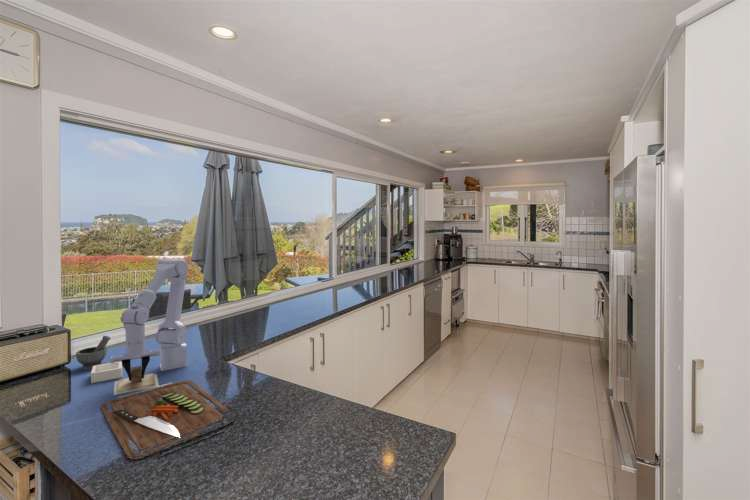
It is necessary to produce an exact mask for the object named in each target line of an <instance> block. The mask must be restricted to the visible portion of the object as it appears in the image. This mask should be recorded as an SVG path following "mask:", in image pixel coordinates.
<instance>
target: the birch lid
mask: <svg viewBox="0 0 750 500" xmlns="http://www.w3.org/2000/svg"><path fill="white" fill-rule="evenodd" d="M141 371H142V365H137V366H132V367H131V381H129V377H126V378H119V379H117V380H118V388H117V393H121V392H126V391H130V390H135V389H140V388H145V387H150V386H155V378H154V374H155V373H153V372H152V373H147V374H144V378H143V379H142V375H141Z"/></svg>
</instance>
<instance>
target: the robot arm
mask: <svg viewBox="0 0 750 500" xmlns="http://www.w3.org/2000/svg"><path fill="white" fill-rule="evenodd" d="M154 270H155V273H154V274H153V276H152V278H151V280H150V282H149V284H148V286H147V287H146V289H143V290H141V291H140V292H139V293H138V295H137V296H136V298H135V300H134V301H133V302H132V304H131V305H130V307H128V308H126V309H125V310H124V311H123V312H122V313H121V316H120V321H121V323H122V326H123V329H124V331H125V353H123V354H118V355H113V356H110V363H111V364H112V363H115V362H120V361H122V368H124V370H125V372H126V374H127V378H129V381H131V360H137V359H141V375H142V379H143V378H144V375H145V372H146V369H147V367H148V365H149V363H150V360H151V357H159V356H160V364H159V370H160V371H161V372H163V371H169V370H174V369H180V368H185V367H188V366H189V365H188V361H189V360H188V358H189V357H188V345H187V343H186V342H185V341H186V338H187V333H186V325H184V324H183V323H182V322H181V315H182V310H183V301H184V295H185V288H186V282H187V281H186V280H187V277H188V272H189V271H188V270H189V265H188V262H187V260H186V259H183V258H177V259H175V258H173V259H172V258H170V259H169V258H161V259H159V260H158V262H157V263H156V265H155V269H154ZM166 280H168V281H169V282H170V285H169V287H170V288H169V294H168V300H167V306H166V313H165V318H164V321H163V322H162V323H161V324H159V325H158V329H157V331H156V334H155V342H156V344H158V347H160V349H159V348H158V349H147V350H146V336H145V335H146V334H145V333H146V330H145V323H146V322H147V321H149V317H150V315H149V314H150V312H151V310H150V309H151V308H152V306H153V304H154V302H155V301H156V300H157V294H156V293H157V292H158V291H159V290H160V288H161V287H162V286H163V284H164V283H165V282H166Z"/></svg>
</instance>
